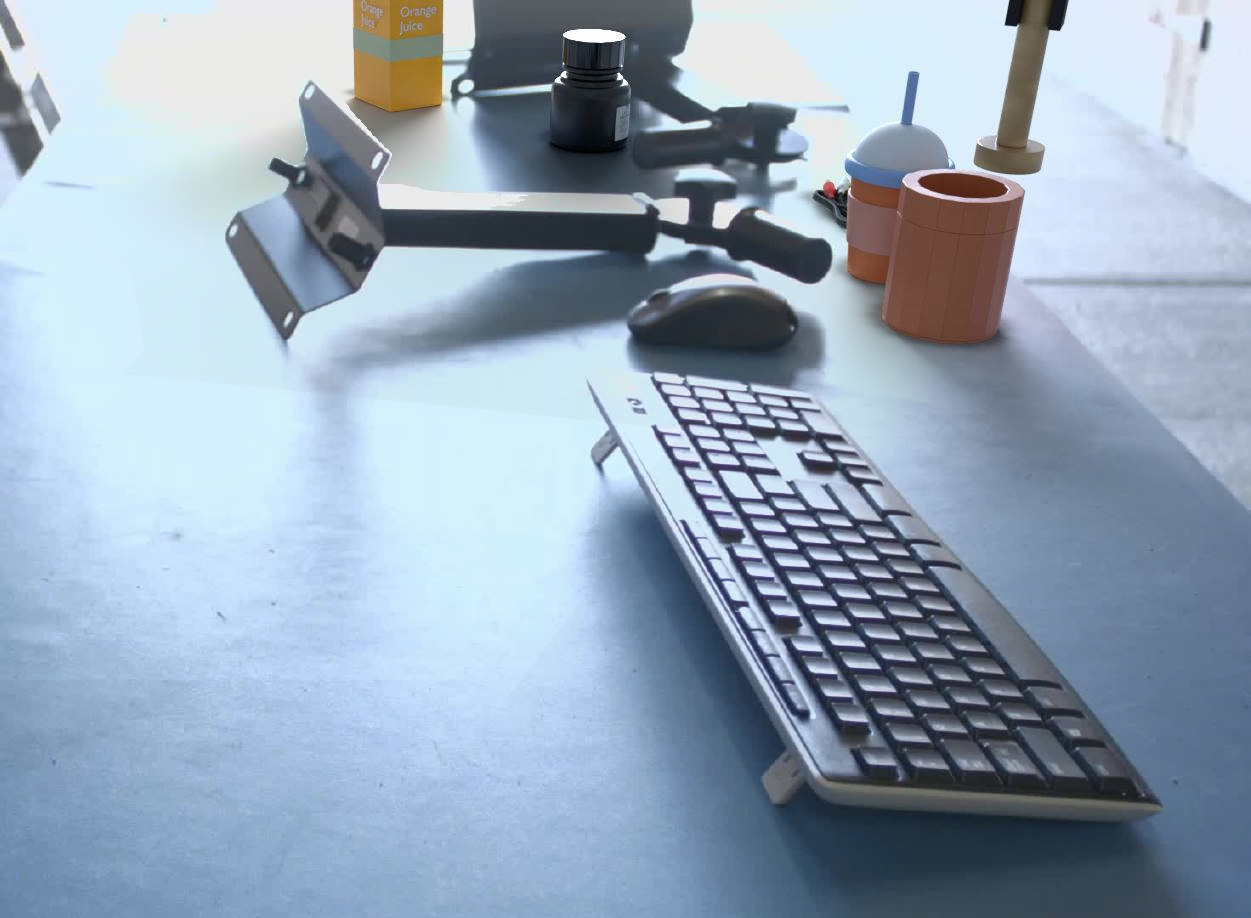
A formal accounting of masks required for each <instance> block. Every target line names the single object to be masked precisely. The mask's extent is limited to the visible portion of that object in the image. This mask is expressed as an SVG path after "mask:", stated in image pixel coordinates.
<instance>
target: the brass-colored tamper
mask: <svg viewBox="0 0 1251 918" xmlns="http://www.w3.org/2000/svg"><path fill="white" fill-rule="evenodd" d="M1053 1H1054V0H1023V3H1022V8H1021V13H1020V18H1019V23H1018V25H1017V27H1016V34H1015V39H1014V44H1013V48H1012V49H1013V50H1012V54H1011V61H1010V64H1009V70H1008V76H1007V81H1006V85H1005V86H1006V87H1005V91H1004V95H1003V96H1004V97H1003V103H1002V106H1001V113H1000V117H999V122H998V127H997V133H996V135H987V136H983V137H979V138H978V139H977V140H976V144H975V149H974V150H975V151H974V156H973V161H972V162H973V164H974V165H975V166H976V167H977V168H979V169H982V170H984V171H987V172H991V173H996V174H1001V175H1008V176H1009V175H1010V176H1011V175H1013V176H1027V175H1033V174H1037V173H1039V172H1040V171H1041V170H1042V166H1043V161H1044V157H1045V151H1046V146H1045V145H1044V144H1042V143H1040V142H1039V141H1036V140H1033V139H1029V135H1030V132H1031V127H1032V120H1033V115H1034V111H1035V105H1036V101H1037V96H1038V91H1039V87H1040V80H1041V76H1042V71H1043V67H1044V61H1045V57H1046V51H1047V46H1048V40H1049V36H1050V32H1051V30H1048V26H1049V21H1050V16H1051V11H1052V6H1053Z"/></svg>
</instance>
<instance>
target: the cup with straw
mask: <svg viewBox="0 0 1251 918" xmlns="http://www.w3.org/2000/svg"><path fill="white" fill-rule="evenodd" d="M919 78H920V72H919V71H916V70H911V71H908V74H907V81H906V87H905V92H904V93H905V94H904V99H903V107H902V113H901V119H900V121H891V122H887V123H884V124H881V125H879V126H876V127H875V128H873V129H871V130H870V131H868V132H867V134H865V135H864V137H863V138H862V139H861V140H860V141H859V143H858V144H857V146H856V148H854V149H852V150H850V151H849V152H848V154H847V155H846V157H845V160H844V170H845V172H846V173H847V175H849V177H850V185H851V188H850V189H849V191H848V203H847V227H846V231H845V233H846V236H845V240H846V242H847V260H846V261H847V262H846V264H847V265H846V269H847V273H849V274H850V275H851V276H853V277H854V278H857V279H859V280H862V281H865V282H866V281H867V282H870V283H875V284H881V285H882V284H884V285H886V280H887V273H888V267H889V260H890V254H891V248H892V241H893V235H894V228H895V222H896V216H897V211H898V210H897V209H898V203H899V196H900V190H901V184H902V180H903V179H904V177H905V176H906V175H907V174H910V173H913V172H916V171H921V170H931V169H956V165H955V162H954V161H953V159H951V158H950V157H949V154H948V150H947V147H946V145H945V143H944V141H943V140H942V138H941V137H940V136H939V135H938V134H936V133H935V132H934V131H933V130H932V129H931V128H929V127H927V126H925V125H923V124H920V123H916V122H913V117H914V113H915V112H914V111H915V107H916V106H915V105H916V99H917V92H918V86H919Z"/></svg>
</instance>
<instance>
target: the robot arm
mask: <svg viewBox="0 0 1251 918" xmlns="http://www.w3.org/2000/svg"><path fill="white" fill-rule="evenodd" d="M1069 1H1070V0H1054V1H1053V6H1052V11H1051V16H1050V21H1049V26H1048V30H1050V31H1055V32H1061V30H1062V28H1063V27H1064V24H1065V21H1066V15H1067V11H1068V5H1069ZM1022 3H1023V0H1008V5H1007V8H1006V9H1007V10H1006V15H1005V20H1004V26H1005V27H1015V28H1018V23H1019V18H1020V13H1021V8H1022Z"/></svg>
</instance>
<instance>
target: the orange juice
mask: <svg viewBox="0 0 1251 918" xmlns="http://www.w3.org/2000/svg"><path fill="white" fill-rule="evenodd" d="M352 5H353V6H352V15H353V16H352V17H353V18H352V19H353V20H352V21H353V22H352V25H353V27H352V49H353V96H354V98H355V97H356V98H355V99H357V100H360V101H363V102H365V103H368V104H370V105H372V106H375V107H377V108H380V109H382V110H383V111H386V112H389V113H392V112H400V111H406V110H414V109H420V108H427V107H433V106H442V105H443V64H444V63H443V58H444V57H443V56H444V0H352Z"/></svg>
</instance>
